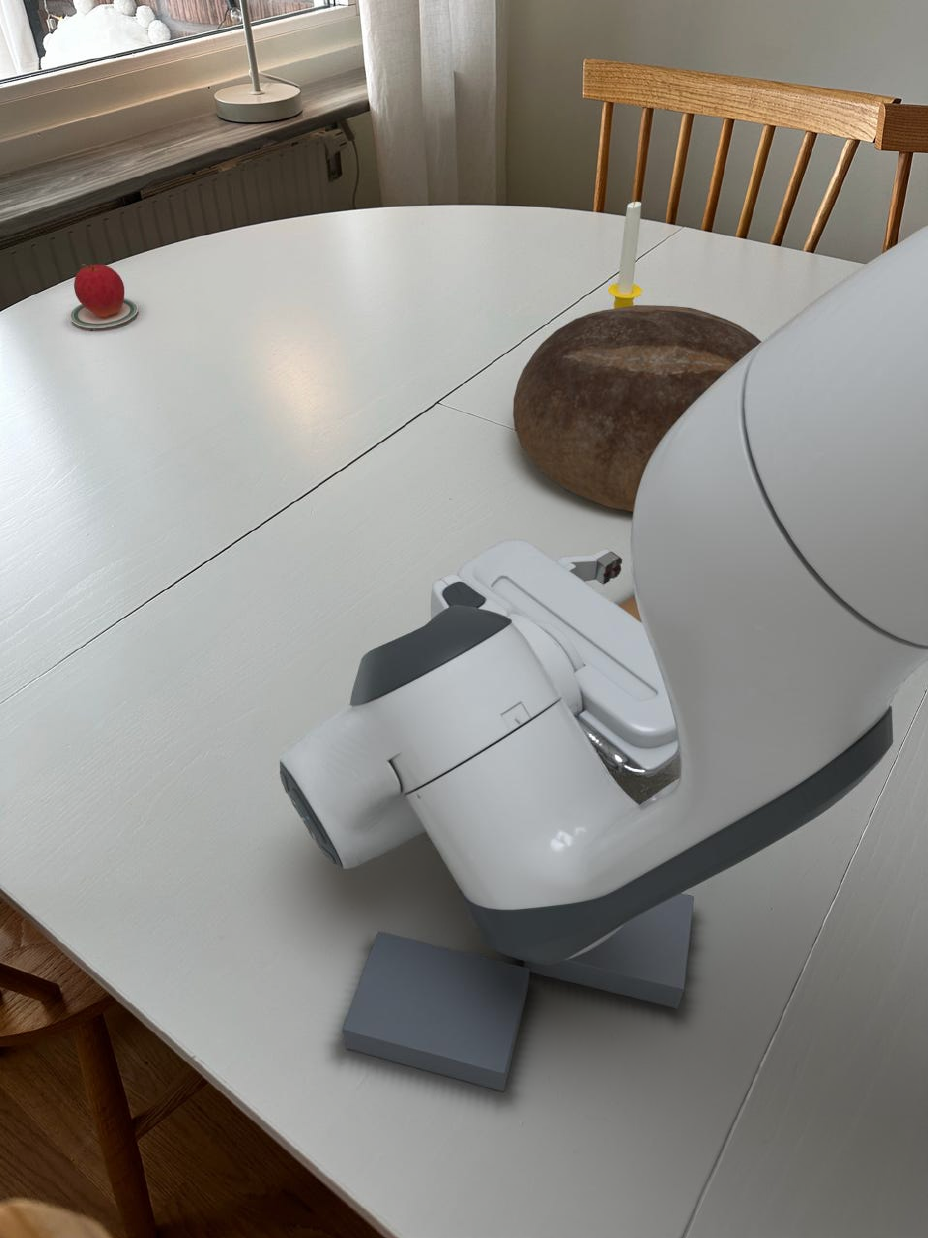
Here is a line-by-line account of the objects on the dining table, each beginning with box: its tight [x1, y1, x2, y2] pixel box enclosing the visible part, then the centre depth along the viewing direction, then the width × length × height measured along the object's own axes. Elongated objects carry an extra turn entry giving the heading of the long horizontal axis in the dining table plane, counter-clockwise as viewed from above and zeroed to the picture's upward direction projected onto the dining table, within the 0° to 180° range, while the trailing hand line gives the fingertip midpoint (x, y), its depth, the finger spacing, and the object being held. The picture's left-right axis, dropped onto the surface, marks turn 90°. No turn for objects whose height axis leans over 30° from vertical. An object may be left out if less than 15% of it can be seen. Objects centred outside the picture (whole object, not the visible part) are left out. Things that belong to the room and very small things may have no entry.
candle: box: [607, 198, 643, 309], centre depth 110 cm, size 5×5×16 cm
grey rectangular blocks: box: [342, 892, 695, 1092], centre depth 56 cm, size 18×13×2 cm
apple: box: [69, 263, 139, 329], centre depth 117 cm, size 8×8×6 cm
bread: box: [512, 304, 762, 512], centre depth 94 cm, size 26×27×13 cm
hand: (663, 593), depth 68 cm, fingers open, 8 cm apart
